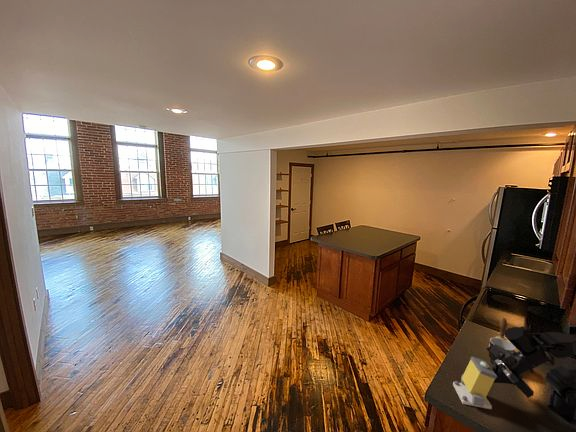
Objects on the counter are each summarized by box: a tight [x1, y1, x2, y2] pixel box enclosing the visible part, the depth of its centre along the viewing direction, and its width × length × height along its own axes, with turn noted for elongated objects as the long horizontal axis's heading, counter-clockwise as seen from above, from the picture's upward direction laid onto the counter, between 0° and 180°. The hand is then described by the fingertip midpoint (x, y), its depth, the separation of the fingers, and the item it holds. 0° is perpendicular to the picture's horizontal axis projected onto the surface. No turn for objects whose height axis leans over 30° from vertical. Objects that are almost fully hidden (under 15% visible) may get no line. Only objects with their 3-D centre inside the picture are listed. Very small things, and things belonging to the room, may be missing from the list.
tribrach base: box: [452, 374, 493, 410], centre depth 94 cm, size 9×11×4 cm
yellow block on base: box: [462, 356, 497, 399], centre depth 92 cm, size 5×8×13 cm, turn 166°
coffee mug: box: [488, 337, 516, 367], centre depth 110 cm, size 12×9×10 cm
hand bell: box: [488, 317, 508, 347], centre depth 119 cm, size 8×8×16 cm
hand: (486, 380), depth 92 cm, fingers closed
